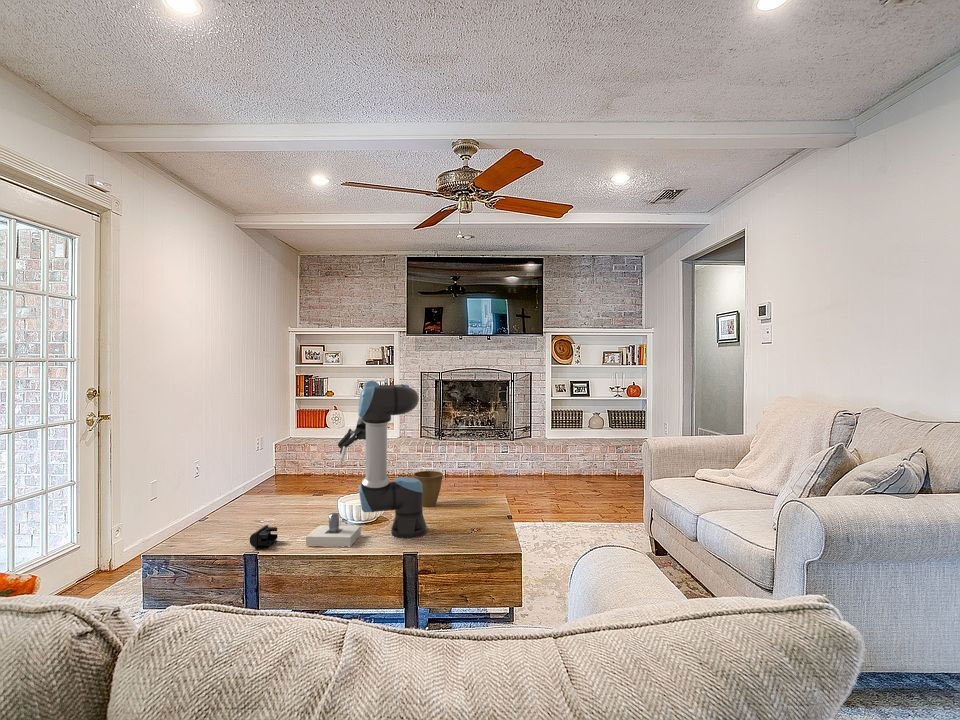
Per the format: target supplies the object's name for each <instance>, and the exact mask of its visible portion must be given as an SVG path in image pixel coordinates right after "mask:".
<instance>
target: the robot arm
mask: <svg viewBox="0 0 960 720" xmlns="http://www.w3.org/2000/svg"><path fill="white" fill-rule="evenodd" d="M419 399H420V398H419V394H418V392H417V391H416V390H415V389H414V388H412V387H410V386H409V384H380V385H379V383H378V382H377V381H374V380H368V381H366V382H364V384H363V386H362V389H361V391H360V393H359V399H358V407H357V408H358V411H357V414H358V419H357V422H356V426H355V427H356V428H355V429H354V430H353V429H351V428H348V430H347V433H346V434H345V435H344V436H343V437H342V438H341V440H340V441H339V442H338V443H337V446H338V448H339V449H340V450H339V454H340V458H339V459H340V461H341V462H342V463H344V462H345V461H344V460H345V457H346V452H347V448H348V447H349V446H351V445H352V444H354V442H356V441H358V440H365V477H364V478H363V479H362V480H361V483H359V484H358V486H357V487H358V493H359V501H360V508H361V511H362V512H363V513H376V512H378V513H379V512H387V511H395V512H394V513H395V514H394V518H393V521H392V522H393V523H392V525H391V528H390V530H391V536H392V537H394V538H397V539H398V538H399V539H414V538H419V537H422V536H425V535H426V534H427V532H428V526H427V522H426V521H425V520H426V519H425V518H424V517H425V516H424V514H423V508H424V507H422V492H423V490H422V483H421V481H420V480H418V479H415V478H414V477H409V476H400V477H395V478H394V479H393V481H391V478H390V477H388V476H387V475H388V474H387V471H388V470H387V465H388V463H387V462H388V461H387V458H388V455H387V454H388V424H389V423H390V422H391V420H392V416H399V415H400V416H401V415H404V414H407V413H409V412H412V411H413V410H414V409H415V408H416V407H417V406H418V404H419V401H420V400H419Z"/></svg>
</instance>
